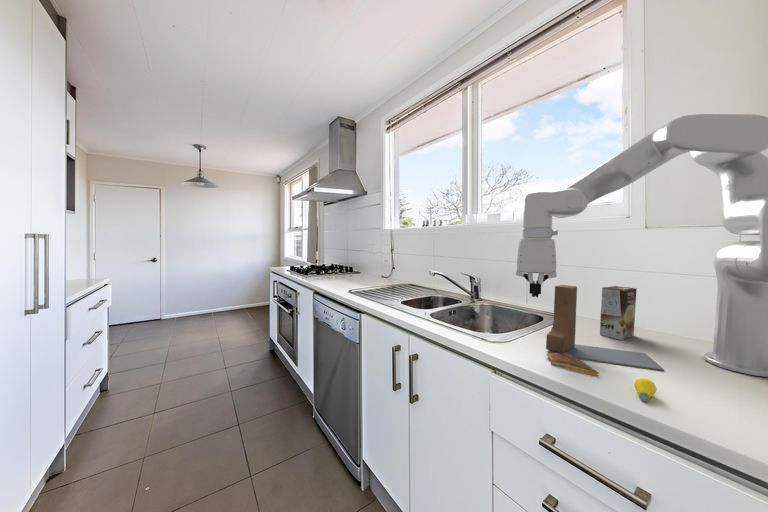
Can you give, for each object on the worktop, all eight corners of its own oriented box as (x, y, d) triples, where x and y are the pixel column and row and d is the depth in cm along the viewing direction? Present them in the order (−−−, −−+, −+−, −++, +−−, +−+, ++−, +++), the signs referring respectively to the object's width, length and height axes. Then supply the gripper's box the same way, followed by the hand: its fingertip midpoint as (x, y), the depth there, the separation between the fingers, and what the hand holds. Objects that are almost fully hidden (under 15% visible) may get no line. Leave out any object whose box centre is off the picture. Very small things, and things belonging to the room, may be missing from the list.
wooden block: (562, 354, 79) (565, 289, 78) (545, 349, 82) (547, 287, 81) (575, 346, 84) (577, 286, 83) (558, 342, 88) (560, 284, 87)
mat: (645, 354, 80) (645, 353, 80) (664, 371, 70) (664, 369, 70) (546, 341, 89) (546, 340, 89) (550, 354, 79) (550, 353, 79)
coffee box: (622, 340, 90) (624, 290, 89) (599, 334, 96) (601, 287, 95) (634, 335, 95) (637, 288, 94) (611, 330, 100) (613, 285, 100)
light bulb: (651, 391, 60) (659, 380, 59) (650, 411, 56) (659, 399, 55) (631, 382, 62) (638, 371, 61) (629, 401, 58) (637, 389, 57)
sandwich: (599, 378, 67) (599, 371, 67) (565, 378, 67) (566, 370, 67) (570, 359, 78) (571, 353, 77) (542, 359, 78) (542, 352, 78)
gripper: (564, 234, 84) (562, 296, 86) (509, 235, 91) (507, 292, 92) (569, 234, 78) (566, 301, 79) (509, 234, 84) (507, 296, 85)
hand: (534, 296), depth 85 cm, fingers closed
